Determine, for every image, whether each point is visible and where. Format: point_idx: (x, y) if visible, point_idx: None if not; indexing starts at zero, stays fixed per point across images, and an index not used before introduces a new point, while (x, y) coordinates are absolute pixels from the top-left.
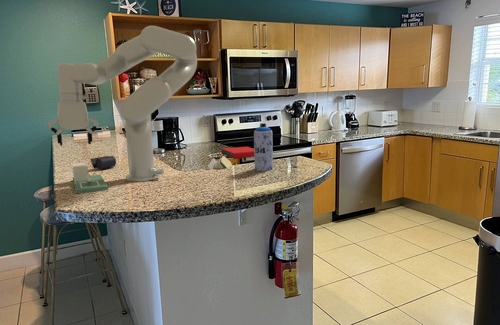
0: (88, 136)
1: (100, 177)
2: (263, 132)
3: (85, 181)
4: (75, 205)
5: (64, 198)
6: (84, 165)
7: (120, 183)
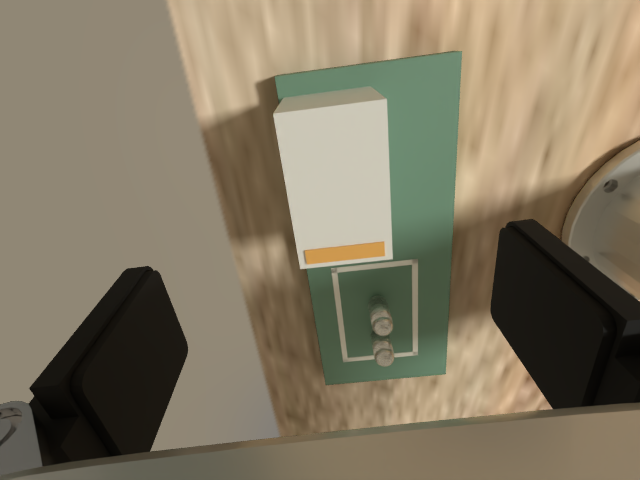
0: (549, 396)
1: (446, 173)
2: None
3: None
4: None
5: (291, 408)
6: (374, 254)
7: None
